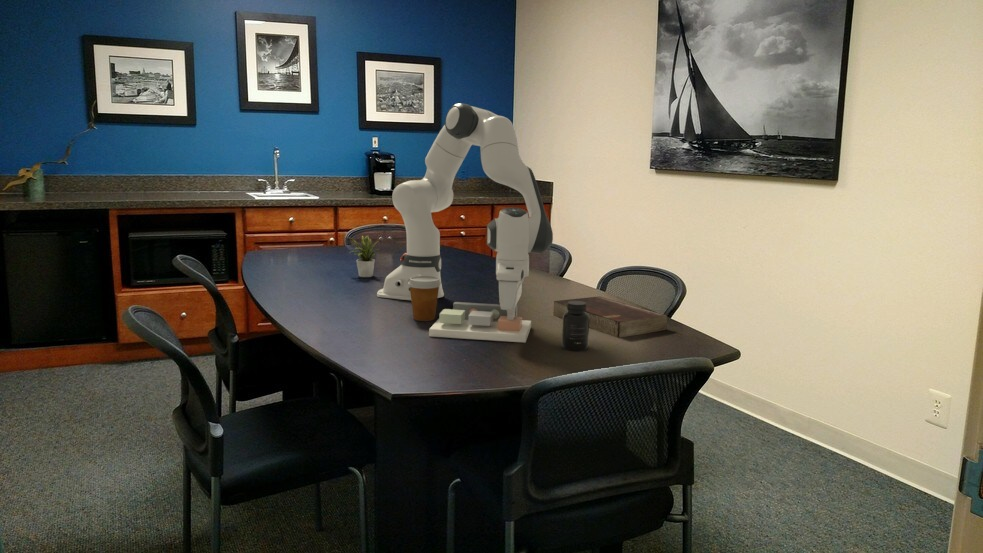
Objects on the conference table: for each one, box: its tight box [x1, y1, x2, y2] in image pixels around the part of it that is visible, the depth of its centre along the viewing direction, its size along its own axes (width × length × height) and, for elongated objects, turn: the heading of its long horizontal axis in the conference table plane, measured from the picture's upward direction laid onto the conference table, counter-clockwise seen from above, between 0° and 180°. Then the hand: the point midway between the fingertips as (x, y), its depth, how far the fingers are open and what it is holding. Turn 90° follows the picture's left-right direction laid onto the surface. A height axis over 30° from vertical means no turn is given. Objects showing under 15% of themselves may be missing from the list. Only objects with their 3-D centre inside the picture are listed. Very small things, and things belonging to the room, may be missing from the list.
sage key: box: [438, 308, 465, 324], centre depth 196 cm, size 6×6×2 cm
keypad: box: [428, 301, 532, 343], centre depth 196 cm, size 26×16×6 cm, turn 82°
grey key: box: [468, 311, 494, 326], centre depth 194 cm, size 6×6×2 cm
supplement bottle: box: [561, 301, 590, 352], centre depth 182 cm, size 7×7×12 cm
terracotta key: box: [497, 316, 523, 331], centre depth 194 cm, size 6×6×2 cm
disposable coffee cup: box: [408, 276, 442, 322], centre depth 209 cm, size 10×10×12 cm
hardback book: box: [552, 296, 669, 339], centre depth 211 cm, size 29×19×5 cm, turn 33°
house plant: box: [346, 235, 381, 278], centre depth 273 cm, size 14×14×16 cm
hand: (510, 319), depth 193 cm, fingers closed, pressing on terracotta key
